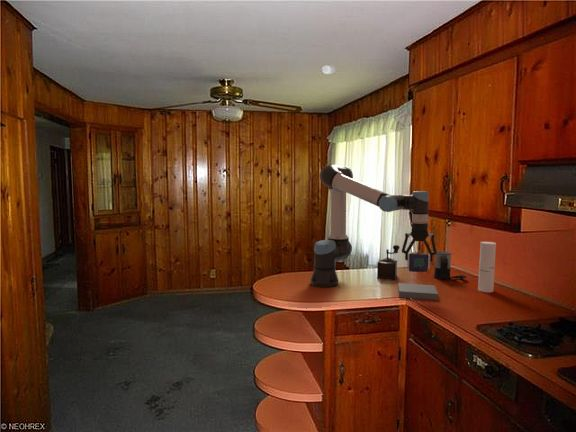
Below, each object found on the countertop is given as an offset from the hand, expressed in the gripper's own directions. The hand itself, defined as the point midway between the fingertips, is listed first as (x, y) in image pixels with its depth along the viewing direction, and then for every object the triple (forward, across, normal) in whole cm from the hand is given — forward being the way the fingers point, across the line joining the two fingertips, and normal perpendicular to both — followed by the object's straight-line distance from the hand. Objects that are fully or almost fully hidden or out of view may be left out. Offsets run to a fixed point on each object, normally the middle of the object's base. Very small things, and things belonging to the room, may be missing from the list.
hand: (418, 267), depth 201 cm
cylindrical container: (+14, +35, +16) cm, 41 cm away
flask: (+2, 0, 0) cm, 2 cm away
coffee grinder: (+14, -14, +33) cm, 38 cm away
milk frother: (+14, +20, +36) cm, 43 cm away
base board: (+14, 0, 0) cm, 14 cm away
